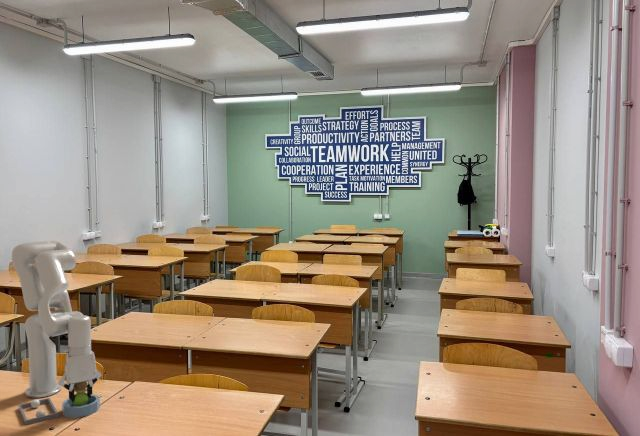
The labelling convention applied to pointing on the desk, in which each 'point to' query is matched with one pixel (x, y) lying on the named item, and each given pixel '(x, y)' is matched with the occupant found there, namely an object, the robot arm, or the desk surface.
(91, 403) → the bowl
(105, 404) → the desk surface
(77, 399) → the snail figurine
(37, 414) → the pebble
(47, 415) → the tray
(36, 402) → the pebble
